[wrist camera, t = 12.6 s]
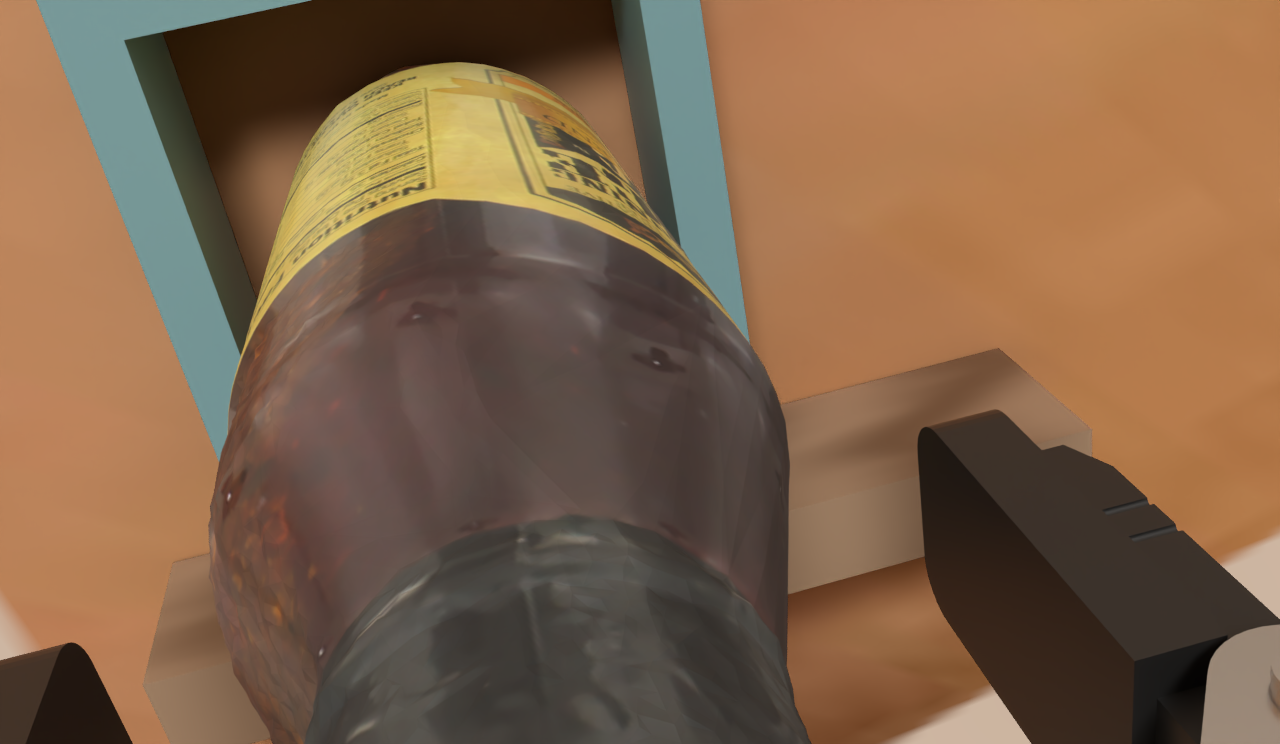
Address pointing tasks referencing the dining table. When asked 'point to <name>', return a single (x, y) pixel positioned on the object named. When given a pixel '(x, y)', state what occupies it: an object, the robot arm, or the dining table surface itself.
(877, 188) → the dining table surface
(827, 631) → the dining table surface
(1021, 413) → the walnut rail
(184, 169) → the square collar
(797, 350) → the dining table surface
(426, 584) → the sauce bottle
